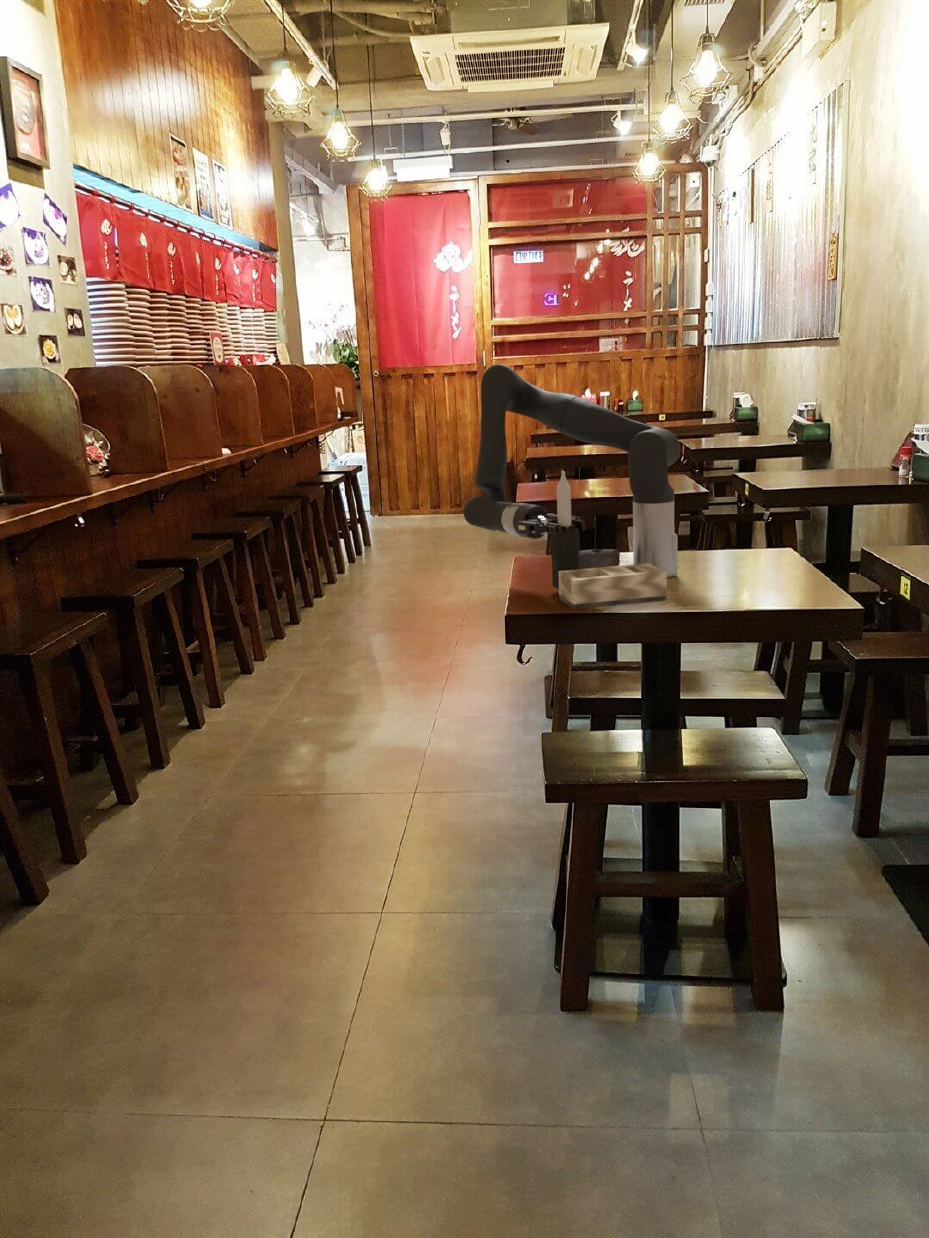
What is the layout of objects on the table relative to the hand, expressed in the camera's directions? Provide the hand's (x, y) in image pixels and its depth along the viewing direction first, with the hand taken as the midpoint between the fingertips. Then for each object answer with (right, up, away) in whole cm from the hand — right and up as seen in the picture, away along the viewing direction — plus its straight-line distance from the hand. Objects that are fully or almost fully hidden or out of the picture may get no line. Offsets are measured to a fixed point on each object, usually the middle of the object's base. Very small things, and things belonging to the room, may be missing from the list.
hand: (571, 528), depth 205 cm
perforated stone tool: (+6, -10, +19) cm, 22 cm away
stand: (+8, -15, -3) cm, 17 cm away
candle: (-1, -12, +5) cm, 13 cm away
